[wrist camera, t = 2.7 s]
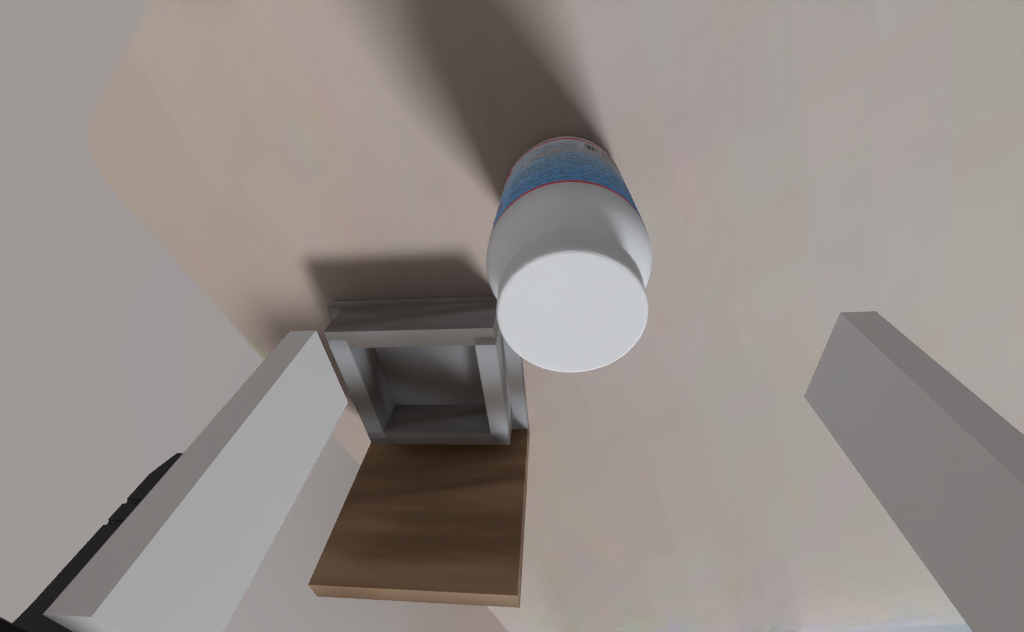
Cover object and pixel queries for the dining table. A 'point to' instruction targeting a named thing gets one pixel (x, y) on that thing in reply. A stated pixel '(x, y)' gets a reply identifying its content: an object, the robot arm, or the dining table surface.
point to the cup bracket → (430, 455)
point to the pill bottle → (569, 258)
